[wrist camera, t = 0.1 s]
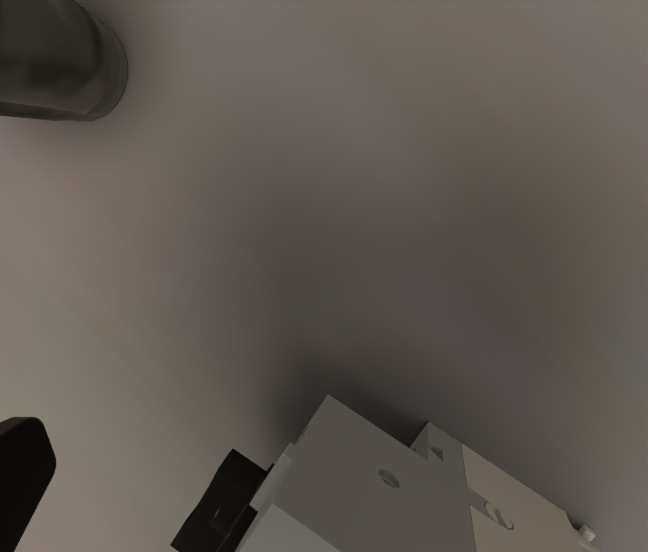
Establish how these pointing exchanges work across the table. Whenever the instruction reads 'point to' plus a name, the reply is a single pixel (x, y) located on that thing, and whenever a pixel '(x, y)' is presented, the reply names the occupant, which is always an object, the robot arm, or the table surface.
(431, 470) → the circuit breaker
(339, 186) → the table surface
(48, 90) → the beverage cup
